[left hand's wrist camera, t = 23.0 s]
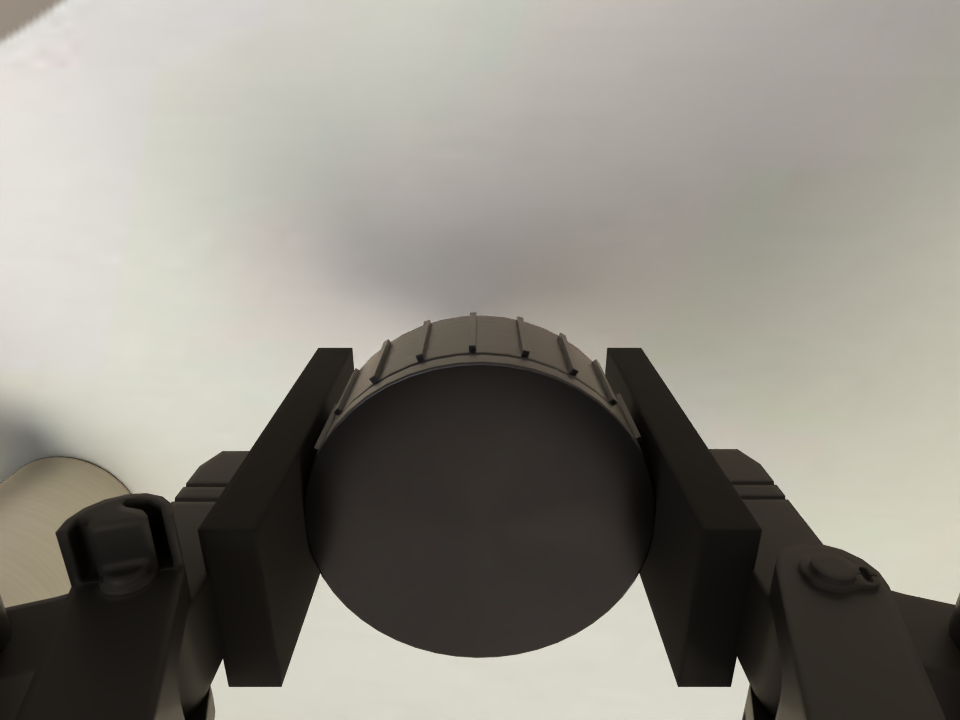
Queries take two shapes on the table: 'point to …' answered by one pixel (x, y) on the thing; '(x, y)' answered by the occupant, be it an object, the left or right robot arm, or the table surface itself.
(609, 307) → the table surface
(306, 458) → the left robot arm
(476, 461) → the lid
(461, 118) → the table surface
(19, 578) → the beige cylindrical container
